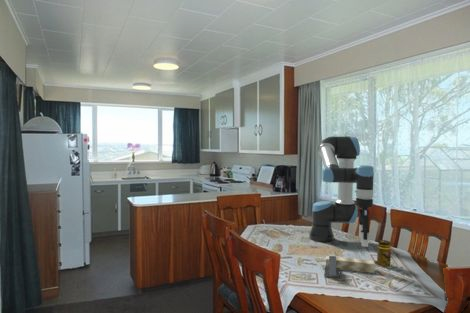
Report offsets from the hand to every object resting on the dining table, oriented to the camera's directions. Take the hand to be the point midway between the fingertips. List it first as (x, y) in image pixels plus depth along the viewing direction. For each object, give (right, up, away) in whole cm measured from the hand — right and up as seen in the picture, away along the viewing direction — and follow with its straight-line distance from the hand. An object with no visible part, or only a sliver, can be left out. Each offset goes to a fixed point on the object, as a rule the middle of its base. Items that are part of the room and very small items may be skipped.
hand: (363, 242), depth 154 cm
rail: (-16, -14, -4) cm, 21 cm away
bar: (-6, -14, +2) cm, 15 cm away
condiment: (+12, -14, +8) cm, 20 cm away
